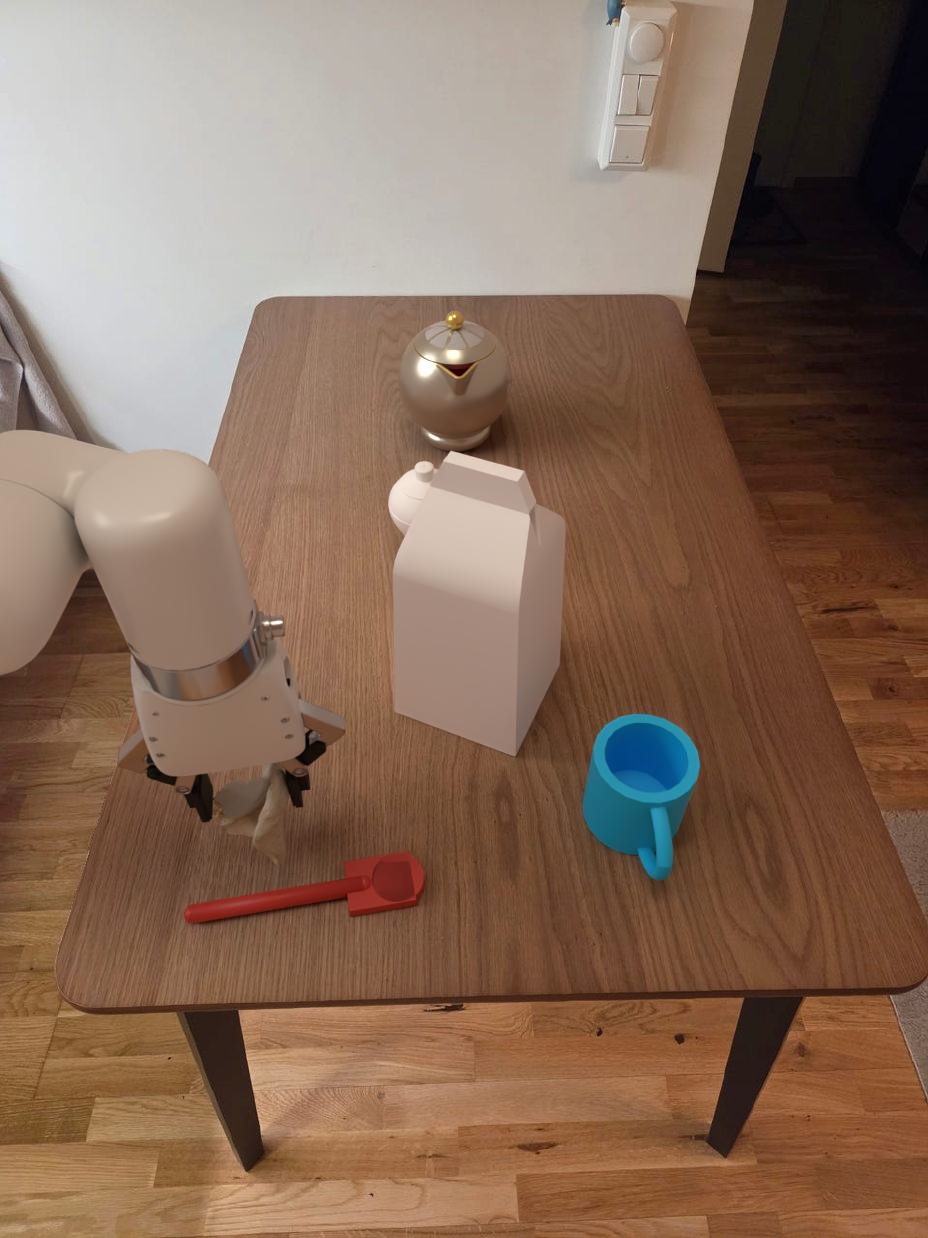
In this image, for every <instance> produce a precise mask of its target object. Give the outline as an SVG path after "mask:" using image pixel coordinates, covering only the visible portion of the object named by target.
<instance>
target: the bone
mask: <svg viewBox="0 0 928 1238" xmlns="http://www.w3.org/2000/svg"><path fill="white" fill-rule="evenodd" d="M289 799H290V794H289V791H288V787H287V784H286V774H285V768H284V767H282V766H281V765H280V764H279V763H278V762H277V763H271V764H265V765H261V776H259V777H255V778H253V779H251V780H248V781H247V782H242V781H240V780H238V779H237V780H236V779H233V780H230V781H229V782H227V783H226V784H225V786H224V787H222V788H221V789H220V790H218V791H217V792H216V795H215V796H213V819H212V821H213V822H214V823H215V824H217V825H220V826H221V827H223V828H224V829H226V830H227V835H239V836H244V837H245V836H246V837H249V838H250V839H252V845H253V847H254V848H255V849H257V850H258V851H259V852H262V853H264V854H265V855H266V856H267V857H268V858H270V859H271V861H272V862H273V863H274V865H275V866H276V867H279V866H281V865H282V864H284V863H285V860H286V856H287V850H286V849H287V848H286V847H287V846H286V841H285V813H286V809H287V806H288V804H289Z"/></svg>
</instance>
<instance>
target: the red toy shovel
mask: <svg viewBox="0 0 928 1238" xmlns="http://www.w3.org/2000/svg"><path fill="white" fill-rule="evenodd" d="M344 873H345V874H344V875H345V878H340V879H333V880H329V881H322V882H316V883H311V884H305V885H298V886H291V887H286V888H285V887H284V888H280V889H274V890H268V891H262V892H261V891H260V892H257V893H250V894H243V895H237V896H232V897H225V898H220V899H214V900H208V901H203V902H197V903H191V904H189V905H187V907H185V909H184V912H183V917H184V918H183V919H184V920H185V921H186V922H187V923H190V924H198V923H202V922H203V923H204V922H208V921H209V922H210V921H215V920H220V919H226V918H231V917H237V916H245V915H251V914H255V913H256V914H257V913H262V912H268V911H275V910H279V909H287V908H291V907H296V906H303V905H309V904H314V903H320V902H321V903H322V902H326V901H332V900H336V899H344V898H347V904H348V913H349V917H351V918H352V917H356V916H362V915H363V916H364V915H368V914H374V913H379V912H386V911H392V910H398V909H404V908H409V907H415V906H418V903H417V902H418V900H419V899H420V897H421V896H422V894H423V892H424V889H425V884H426V880H425V879H426V878H425V870H424V868H423V865H422V864H421V862H420V861H419V860H418V859H417V858H415V857H414V856H412V855H411V853H410V850H405V851H400V852H393V853H388V854H381V855H376V856H370V857H369V856H368V857H364V858H357V859H351V860H346V861H344Z"/></svg>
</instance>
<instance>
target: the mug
mask: <svg viewBox="0 0 928 1238" xmlns="http://www.w3.org/2000/svg"><path fill="white" fill-rule="evenodd" d="M700 767H701V763H700V758H699V752H698V749H697V747H696V745H695V744H694V742H693V740H692V738H691V737H690V736H689V735H688V734H687V733H686V732H685V731H684V730H683V729H682V728H681V727H680V726H678V725H677V724H675V723H672V722H671V721H669V720H668V719H666V718H663V717H659V716H657V715H652V714H647V713H646V714H645V713H631V714H628V715H622V716H619V717H618V716H617V718H614V719H613V720H612V721H610V722H608V723H606V724H605V725H604V726H603V727H602V729H601V730H600V731H599V733H598V734H597V736H596V738H595V741H594V745H593V748H592V753H591V758H590V763H589V768H588V774H587V779H586V783H585V787H584V789H585V790H584V793H583V798H582V814H583V818H584V821H585V823H586V825H587V828H588V830H589V831H590V832H591V833H592V834H593V835H594V837H595V838H596V839H597V840H598V841H599V842H600V843H602V844H604V846H606V847H608V848H610V849H611V850H613V851H616V852H619V853H621V854H625V855H634V856H635V855H637V856H638V857H639V859H640V862H641V864H642V866H643V869H644V870H645V872H646V873H647V875H648V876H649V877H650V878H651V879H653V880H655V881H659V882H661V881H665V880H667V879H668V877H669V876H670V875H671V873H672V870H673V865H674V846H673V839H674V837H675V836H676V835H677V834H678V831H679V828H680V826H681V823H682V820H683V819H684V815H685V813H686V809H687V808H688V805H689V802H690V799H691V797H692V794H693V791H694V789H695V786H696V783H697V781H698V776H699V772H700Z"/></svg>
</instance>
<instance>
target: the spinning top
mask: <svg viewBox="0 0 928 1238" xmlns="http://www.w3.org/2000/svg"><path fill="white" fill-rule="evenodd" d="M438 469H439V468H435V465H434V464H433V463H432V462H430V461H426V460H423V461H419V462H417V463H416V464H415V465H414V468H413V469H410V470H408V471H406V472H405V473H403V475H402V476H401V477H400V478H399V479H398V480H397V481H396V482H395V483H394V485H393V486H392V488H391V490H390V492H389V495H388V503H387V504H388V505H387V507H388V511H389V515H390V517H391V520H392V521H393V523H394V525H395V526H396V528H397V529H398V530H399V531H400V532H401V533H402V535H403V536H404V537H405V535H406V533H407V531H408V529H409V527H410V525H411V523H412V521H413V518H414V516H415V514H416V512H417V510H418V508H419V506H420V504H421V502H422V500H423V498H424V496H425V493H426V491H427V489H428V488H429V487H431V485H430V483H431V482H432V480H433V478H434V476H435V475H436V473H437V471H438Z"/></svg>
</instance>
